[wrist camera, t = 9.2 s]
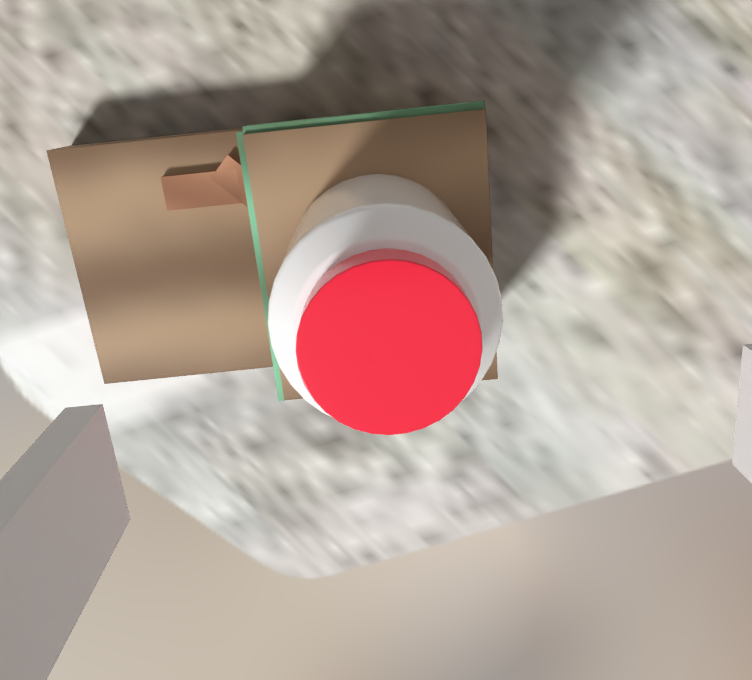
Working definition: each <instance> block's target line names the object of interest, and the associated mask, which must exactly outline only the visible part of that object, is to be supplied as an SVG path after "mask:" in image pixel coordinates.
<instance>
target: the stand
mask: <svg viewBox="0 0 752 680" xmlns="http://www.w3.org/2000/svg"><path fill="white" fill-rule="evenodd" d="M47 154H48V158H49V162H50V166H51V170H52V174H53V178H54V182H55V186H56V190H57V194H58V199H59V203H60V207H61V211H62V215H63V219H64V223H65V227H66V231H67V235H68V239H69V243H70V247H71V251H72V255H73V259H74V263H75V267H76V271H77V275H78V279H79V283H80V287H81V291H82V295H83V299H84V303H85V307H86V311H87V315H88V319H89V323H90V327H91V331H92V335H93V339H94V343H95V347H96V351H97V355H98V359H99V363H100V367H101V371H102V375H103V379H104V384H107V383H117V382H127V381H137V380H147V379H157V378H167V377H176V376H186V375H196V374H206V373H216V372H226V371H236V370H245V369H255V368H265V367H273V368H274V375H275V381H276V387H277V393H278V400H279V401H284V400H292V399H302V398H303V397H302V396H301V395H300V394H299V393H298V392H297V391H296V390H295V389H294V388H293V387H292V386H291V384H290V383H289V381H288V379H287V378H286V376H285V375H284V373H283V372H282V370H281V368H280V367H279V365H278V362H277V359H276V357H275V354H274V352H273V349H272V346H271V341H270V335H269V329H268V305H269V298H270V294H271V291H272V287H273V283H274V279H275V276H276V274H277V272H278V269H279V267H280V265H281V262H282V260H283V258H284V255H285V253H286V251H287V248H288V246H289V243H290V241H291V239H292V236H293V234H294V232H295V230H296V228H297V226H298V224H299V222H300V220H301V218H302V216H303V214H304V213H305V212H306V210H307V209H308V208H309V207H310V205H311V204H312V203H313V201H315V200H316V199H317V198H318V197H319V196H320V195H322V194H323V193H324V192H325V191H326V190H328V189H329V188H331V187H333V186H335V185H337V184H338V183H340V182H342V181H345V180H348V179H351V178H354V177H357V176H361V175H370V174H387V175H396V176H400V177H403V178H406V179H410V180H413V181H415V182H417V183H419V184H420V185H422V186H424V187H426V188H428V189H429V190H431V191H432V192H433V193H434V194H435V195H437V196H438V197H439V198H440V199H441V200H442V201H443V202H444V203H445V204H446V205H447V207H448V208H449V209H450V211H451V212H452V213H453V214H454V216H455V217H456V218H457V219H458V221H459V222H460V223H461V225H462V226H463V227H464V229H465V230H466V231H467V232H468V234H469V235H470V236H471V238H472V239H473V240H474V241H475V243H476V244H477V245H478V247H479V248H480V249H481V250H482V252H483V253H484V254H485V256H486V257H487V259H488V261H489V263H490V265H491V267H492V269H493V262H492V240H491V217H490V195H489V172H488V150H487V127H486V109H485V101H473V102H463V103H454V104H444V105H435V106H425V107H416V108H406V109H397V110H387V111H378V112H368V113H359V114H349V115H340V116H330V117H320V118H311V119H301V120H292V121H282V122H273V123H263V124H254V125H246V126H243V127H242V128H235V129H225V130H216V131H206V132H197V133H187V134H178V135H168V136H159V137H149V138H140V139H130V140H120V141H111V142H101V143H92V144H82V145H73V146H67V147H62V148H57V149H52V150H47ZM490 379H498V374H497V352H496V353H495V356H494V359H493V361H492V364H491V366H490V367H489V369H488V370H487V372H486V374H485V375H484V377H483V379H482V380H490Z"/></svg>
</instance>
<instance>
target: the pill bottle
mask: <svg viewBox="0 0 752 680" xmlns="http://www.w3.org/2000/svg"><path fill="white" fill-rule="evenodd" d="M502 323H503V311H502V297H501V293H500V289H499V286H498V282H497V278H496V276H495V274H494V271H493V269H492V267H491V265H490V263H489V261H488V259H487V257H486V256H485V254H484V253H483V252H482V250H481V249H480V248H479V247H478V245H477V244H476V243H475V241H474V240H473V239H472V238H471V236H470V235H469V234H468V232H467V231H466V230H465V229H464V227H463V226H462V225H461V223H460V222H459V221H458V219H457V218H456V217H455V216H454V214H453V213H452V212H451V211H450V209H449V208H448V207H447V205H446V204H445V203H444V202H443V201H442V200H441V199H440V198H439V197H438V196H437V195H435V194H434V193H433V192H432V191H431V190H429V189H428V188H426V187H424V186H422V185H420V184H419V183H417V182H415V181H413V180H410V179H406V178H403V177H400V176H396V175H387V174H370V175H361V176H357V177H354V178H351V179H348V180H345V181H342V182H340V183H338V184H337V185H335V186H333V187H331V188H329V189H328V190H326V191H325V192H324V193H323V194H322V195H320V196H319V197H318V198H317V199H316V200H315V201H313V203H312V204H311V205H310V207H309V208H308V209H307V210H306V212H305V213H304V214H303V216H302V218H301V220H300V222H299V224H298V226H297V228H296V230H295V232H294V234H293V236H292V239H291V241H290V243H289V246H288V248H287V251H286V253H285V255H284V258H283V260H282V262H281V265H280V267H279V269H278V272H277V274H276V276H275V279H274V283H273V287H272V291H271V294H270V298H269V305H268V329H269V335H270V341H271V346H272V349H273V352H274V354H275V357H276V359H277V362H278V365H279V367H280V368H281V370H282V372H283V373H284V375H285V376H286V378H287V379H288V381H289V383H290V384H291V386H292V387H293V388H294V389H295V390H296V391H297V392H298V393H299V394H300V395H301V396H302V397H303V398H304V399H305V400H306V401H307V402H308V403H310V404H311V405H313V406H314V407H315V408H317V409H318V410H320V411H321V412H323V413H324V414H326V415H328V416H331V417H333V418H334V419H336V420H337V421H338V422H340V423H342V424H344V425H347V426H349V427H351V428H353V429H356V430H360V431H363V432H367V433H371V434H384V435H393V434H403V433H409V432H412V431H416V430H419V429H423V428H425V427H427V426H429V425H431V424H433V423H435V422H437V421H439V420H441V419H442V418H443V417H445V416H446V415H447V414H449V413H450V412H451V411H453V410H454V409H455V408H456V406H457V405H458V404H459V403H460V402H461V401H462V400H464V399H465V398H466V397H467V396H468V395H469V394H470V393H471V392H472V391H473V390H474V388H475V387H476V386H477V385H478V384H479V383H480V382H481V380H482V379H483V377H484V375H485V374H486V372H487V370H488V369H489V367H490V366H491V364H492V361H493V359H494V356H495V353H496V351H497V348H498V345H499V342H500V336H501V330H502Z"/></svg>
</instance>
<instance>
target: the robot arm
mask: <svg viewBox="0 0 752 680" xmlns="http://www.w3.org/2000/svg"><path fill="white" fill-rule="evenodd" d="M732 464H733V465H734V466H735V467H736V468H737V469H738V470H739V471H740V472H741V473H742V474H743V475H744V476H745V477H746V478H747V479H748V480H749V481H750V482H751V483H752V344H747V345H743V351H742V362H741V373H740V384H739V394H738V405H737V416H736V427H735V438H734V449H733V460H732ZM129 521H130V515H129V511H128V507H127V503H126V499H125V495H124V490H123V486H122V482H121V478H120V474H119V470H118V466H117V461H116V457H115V453H114V449H113V445H112V441H111V437H110V433H109V429H108V425H107V420H106V416H105V412H104V408H103V404H101V405H90V406H79V407H68V408H65V409H64V410H63V411H62V412H61V413H60V414H59V415H58V417H57V418H56V419H55V420H54V421H53V422H52V423H51V424H50V425H49V427H48V428H47V429H46V430H45V431H44V432H43V433H42V434H41V435H40V437H39V438H38V439H37V440H36V441H35V442H34V443H33V444H32V445H31V446H30V448H29V449H28V450H27V451H26V452H25V453H24V454H23V455H22V456H21V458H20V459H19V460H18V461H17V462H16V463H15V464H14V465H13V466H12V468H11V469H10V470H9V471H8V472H7V473H6V474H5V475H4V476H3V478H2V479H1V480H0V680H47V678H48V676H49V674H50V672H51V670H52V668H53V666H54V664H55V662H56V661H57V659H58V657H59V655H60V653H61V651H62V649H63V647H64V645H65V643H66V641H67V639H68V637H69V636H70V634H71V632H72V630H73V628H74V626H75V624H76V622H77V620H78V618H79V616H80V615H81V613H82V611H83V609H84V607H85V605H86V603H87V601H88V599H89V597H90V595H91V594H92V592H93V590H94V588H95V586H96V584H97V582H98V580H99V578H100V576H101V574H102V572H103V570H104V569H105V567H106V565H107V563H108V561H109V559H110V557H111V555H112V553H113V551H114V549H115V547H116V545H117V544H118V542H119V540H120V538H121V536H122V534H123V532H124V530H125V528H126V526H127V525H128V523H129Z"/></svg>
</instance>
